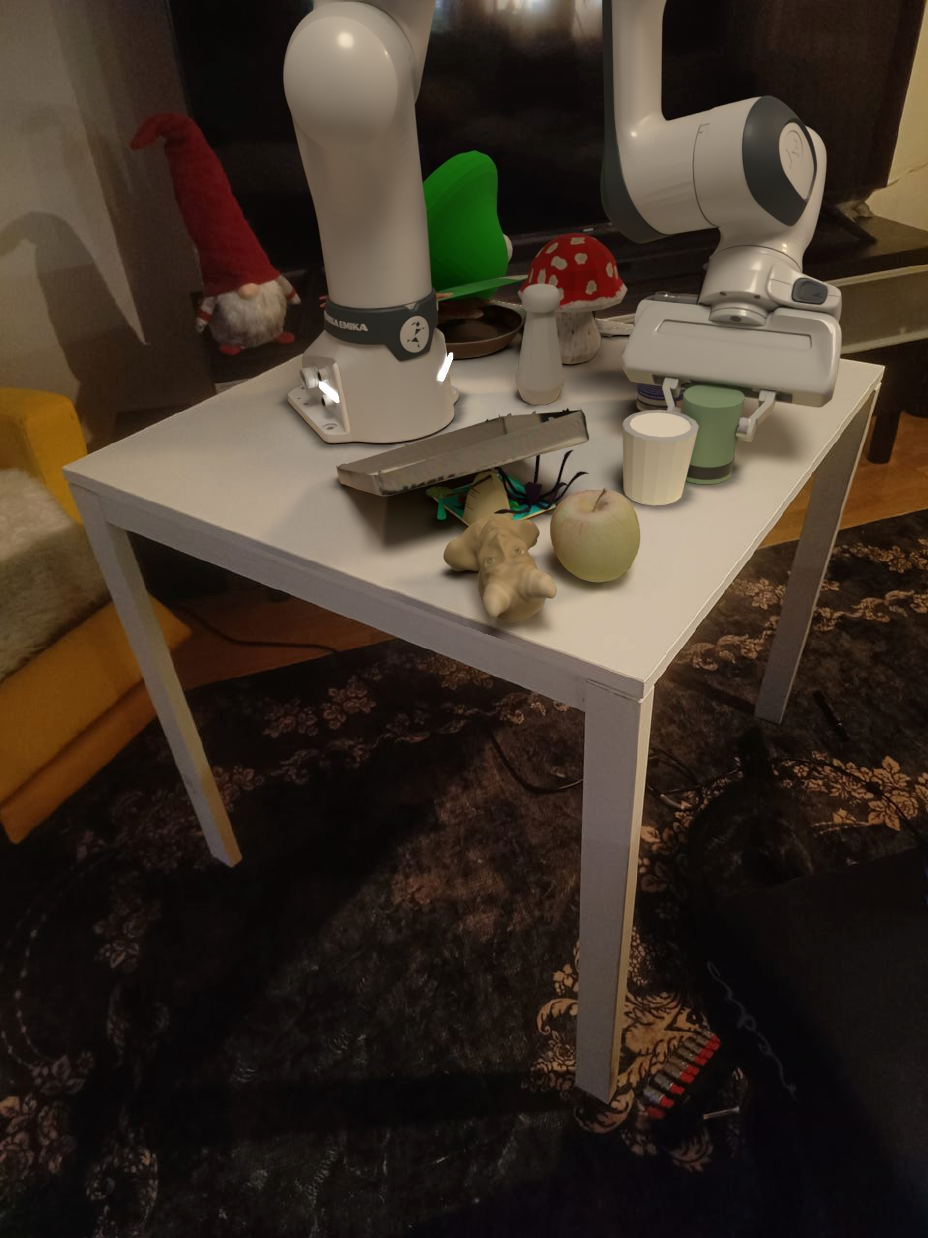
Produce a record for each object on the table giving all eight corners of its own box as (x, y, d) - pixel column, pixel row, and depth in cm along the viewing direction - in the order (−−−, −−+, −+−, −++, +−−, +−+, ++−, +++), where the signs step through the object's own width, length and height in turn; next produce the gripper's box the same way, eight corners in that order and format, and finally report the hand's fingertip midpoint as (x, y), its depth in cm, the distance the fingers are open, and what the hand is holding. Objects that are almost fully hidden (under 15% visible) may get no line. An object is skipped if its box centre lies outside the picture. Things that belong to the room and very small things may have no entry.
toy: (408, 285, 138) (468, 348, 138) (332, 296, 118) (403, 369, 118) (502, 149, 123) (570, 220, 123) (434, 134, 103) (515, 218, 103)
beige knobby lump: (441, 570, 69) (471, 657, 59) (436, 497, 65) (469, 578, 55) (532, 556, 70) (576, 640, 61) (534, 484, 66) (582, 561, 56)
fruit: (654, 563, 68) (664, 479, 63) (610, 606, 63) (618, 519, 58) (577, 536, 72) (581, 455, 67) (531, 575, 67) (531, 491, 62)
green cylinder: (661, 470, 81) (670, 395, 76) (697, 452, 84) (708, 378, 79) (707, 490, 77) (720, 412, 72) (743, 471, 80) (757, 394, 75)
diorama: (409, 507, 77) (404, 455, 74) (534, 463, 83) (535, 413, 80) (473, 560, 70) (471, 504, 66) (606, 507, 76) (610, 453, 72)
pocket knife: (559, 332, 113) (559, 325, 114) (559, 338, 113) (559, 331, 115) (658, 330, 111) (656, 324, 113) (657, 336, 112) (655, 329, 113)
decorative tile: (378, 511, 64) (598, 441, 69) (367, 474, 63) (590, 405, 68) (341, 493, 83) (515, 439, 87) (332, 464, 82) (508, 410, 86)
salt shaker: (573, 396, 97) (578, 284, 89) (543, 412, 94) (545, 297, 86) (535, 385, 100) (536, 276, 92) (506, 400, 97) (504, 288, 89)
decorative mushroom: (498, 364, 106) (496, 242, 96) (549, 332, 115) (551, 217, 105) (593, 382, 99) (601, 253, 90) (639, 347, 108) (650, 226, 99)
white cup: (674, 515, 74) (683, 446, 70) (605, 498, 77) (610, 431, 73) (699, 483, 79) (709, 416, 74) (633, 468, 82) (639, 403, 77)
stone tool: (481, 304, 105) (371, 307, 107) (482, 328, 106) (373, 331, 109) (494, 289, 116) (395, 292, 119) (495, 311, 118) (396, 314, 120)
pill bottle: (686, 419, 90) (697, 330, 84) (634, 417, 91) (642, 329, 85) (685, 398, 95) (696, 312, 88) (636, 397, 96) (644, 312, 90)
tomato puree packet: (432, 306, 98) (559, 275, 107) (430, 297, 98) (558, 266, 106) (378, 310, 111) (495, 282, 119) (376, 301, 110) (494, 274, 119)
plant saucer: (492, 313, 123) (491, 293, 121) (545, 348, 110) (545, 326, 108) (383, 336, 118) (380, 315, 116) (426, 375, 105) (424, 352, 103)
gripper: (637, 273, 79) (598, 404, 78) (860, 291, 71) (819, 438, 71) (646, 306, 85) (610, 428, 84) (853, 326, 77) (815, 462, 76)
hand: (707, 433), depth 77 cm, fingers closed on green cylinder, 5 cm apart
